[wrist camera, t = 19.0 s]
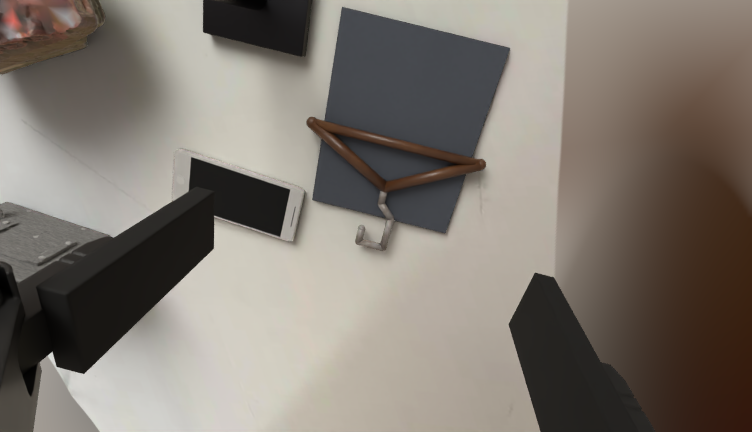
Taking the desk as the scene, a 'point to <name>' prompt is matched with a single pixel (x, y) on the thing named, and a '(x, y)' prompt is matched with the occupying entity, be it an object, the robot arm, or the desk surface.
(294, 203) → the smartphone
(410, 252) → the desk surface
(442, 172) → the hanger
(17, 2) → the decorative box
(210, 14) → the rail stand
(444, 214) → the felt mat
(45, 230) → the electronic device
